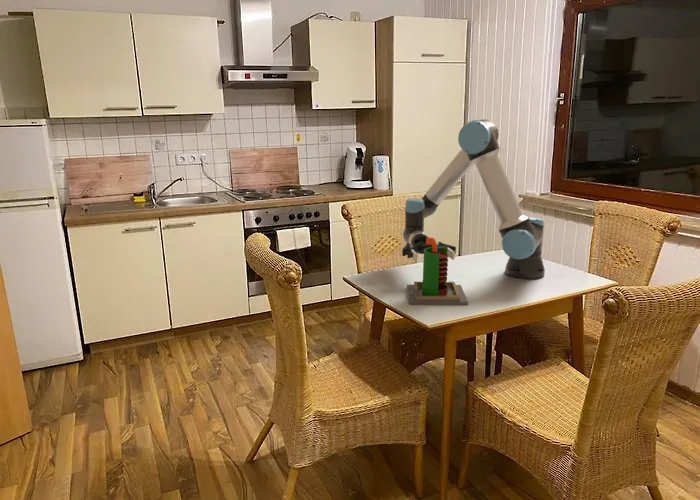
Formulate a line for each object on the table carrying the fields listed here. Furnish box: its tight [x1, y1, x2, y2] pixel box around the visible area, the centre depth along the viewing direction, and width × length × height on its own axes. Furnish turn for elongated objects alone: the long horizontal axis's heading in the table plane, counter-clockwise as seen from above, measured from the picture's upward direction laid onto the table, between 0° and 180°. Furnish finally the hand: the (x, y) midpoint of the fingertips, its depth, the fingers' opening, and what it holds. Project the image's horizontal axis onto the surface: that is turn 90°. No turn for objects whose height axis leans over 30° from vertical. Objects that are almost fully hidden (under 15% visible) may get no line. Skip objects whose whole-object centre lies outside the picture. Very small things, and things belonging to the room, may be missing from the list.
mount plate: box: [406, 281, 469, 306], centre depth 189 cm, size 20×18×3 cm
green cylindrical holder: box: [422, 237, 449, 295], centre depth 187 cm, size 10×9×20 cm
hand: (435, 256), depth 188 cm, fingers open, 13 cm apart
